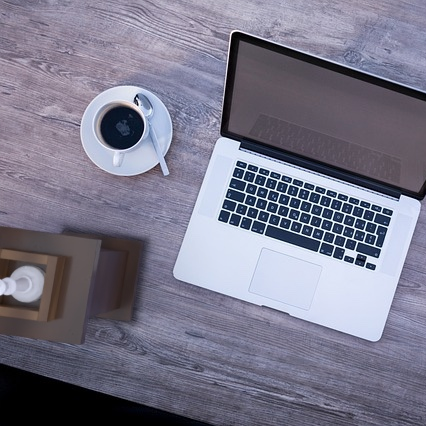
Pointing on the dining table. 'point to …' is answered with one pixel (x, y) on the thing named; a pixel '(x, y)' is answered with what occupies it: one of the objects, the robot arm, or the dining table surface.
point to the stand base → (115, 277)
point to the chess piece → (24, 284)
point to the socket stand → (49, 284)
